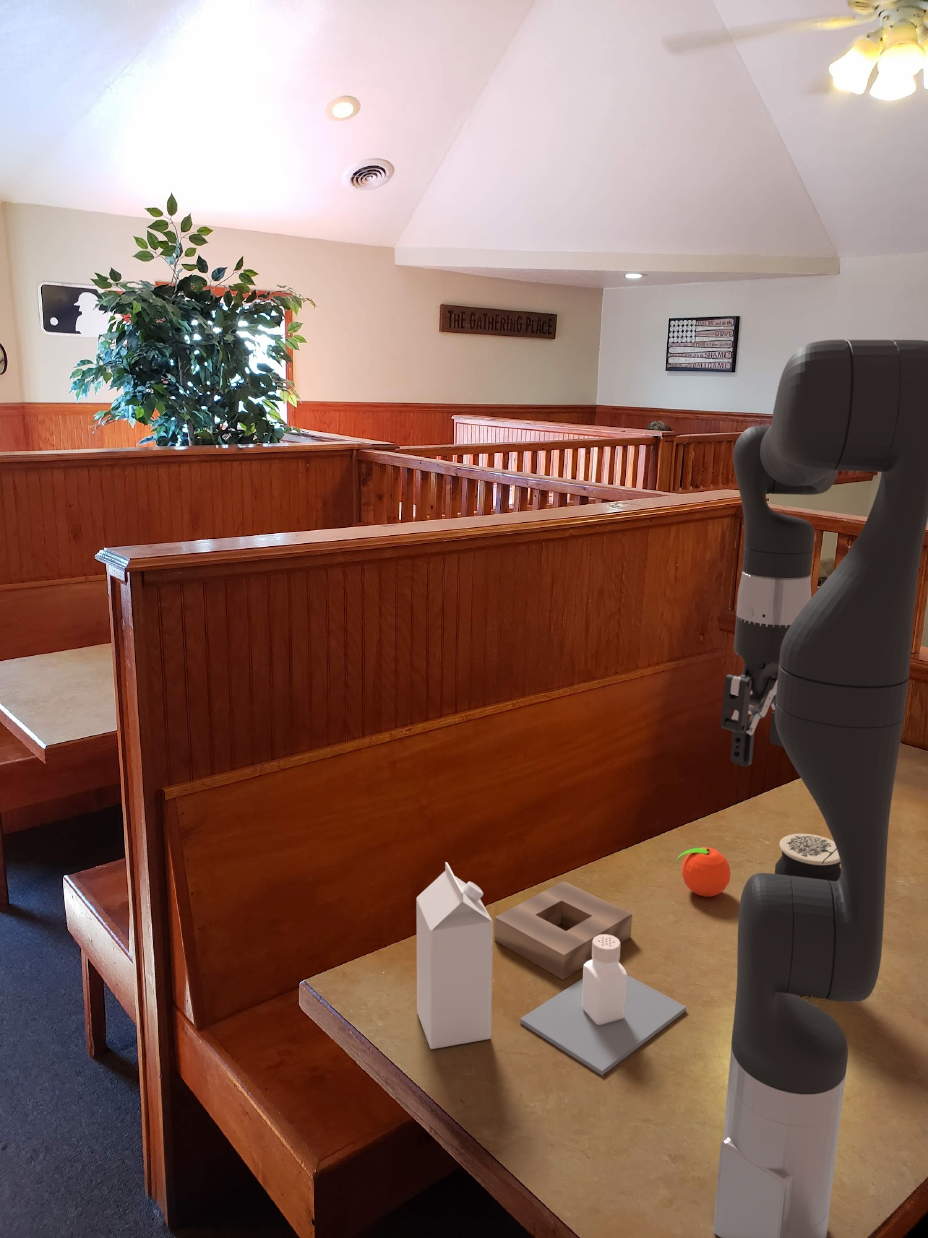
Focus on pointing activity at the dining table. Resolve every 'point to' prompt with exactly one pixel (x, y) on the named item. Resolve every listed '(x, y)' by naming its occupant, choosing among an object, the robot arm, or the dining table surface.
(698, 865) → the clementine
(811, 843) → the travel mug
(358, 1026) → the dining table surface
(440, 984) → the milk carton
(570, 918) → the shaker holder
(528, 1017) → the placemat
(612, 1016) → the salt shaker
